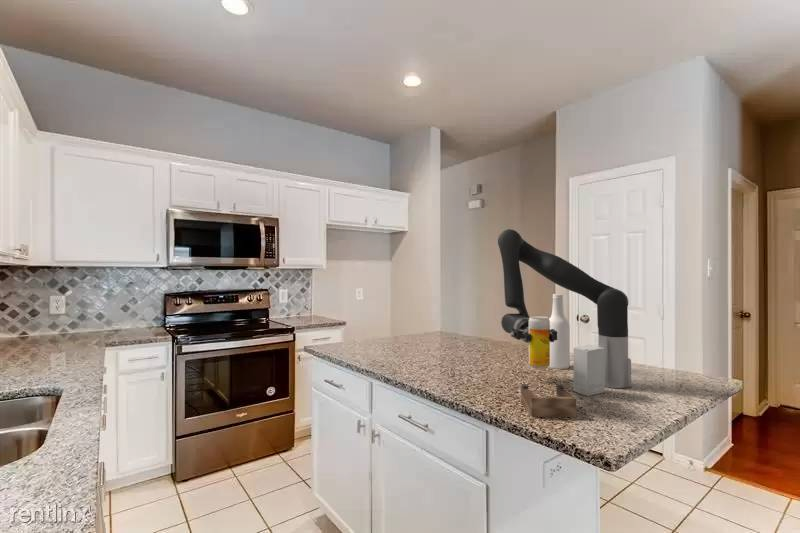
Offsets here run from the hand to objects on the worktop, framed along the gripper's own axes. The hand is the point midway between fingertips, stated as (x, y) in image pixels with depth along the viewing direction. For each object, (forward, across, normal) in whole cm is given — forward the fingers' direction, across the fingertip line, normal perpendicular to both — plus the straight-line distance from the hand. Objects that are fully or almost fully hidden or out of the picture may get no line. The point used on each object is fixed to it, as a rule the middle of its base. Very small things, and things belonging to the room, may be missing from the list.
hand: (541, 338), depth 122 cm
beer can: (-2, 0, +9) cm, 10 cm away
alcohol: (-49, +21, +20) cm, 57 cm away
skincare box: (-14, +19, +20) cm, 31 cm away
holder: (+3, 0, +20) cm, 20 cm away
